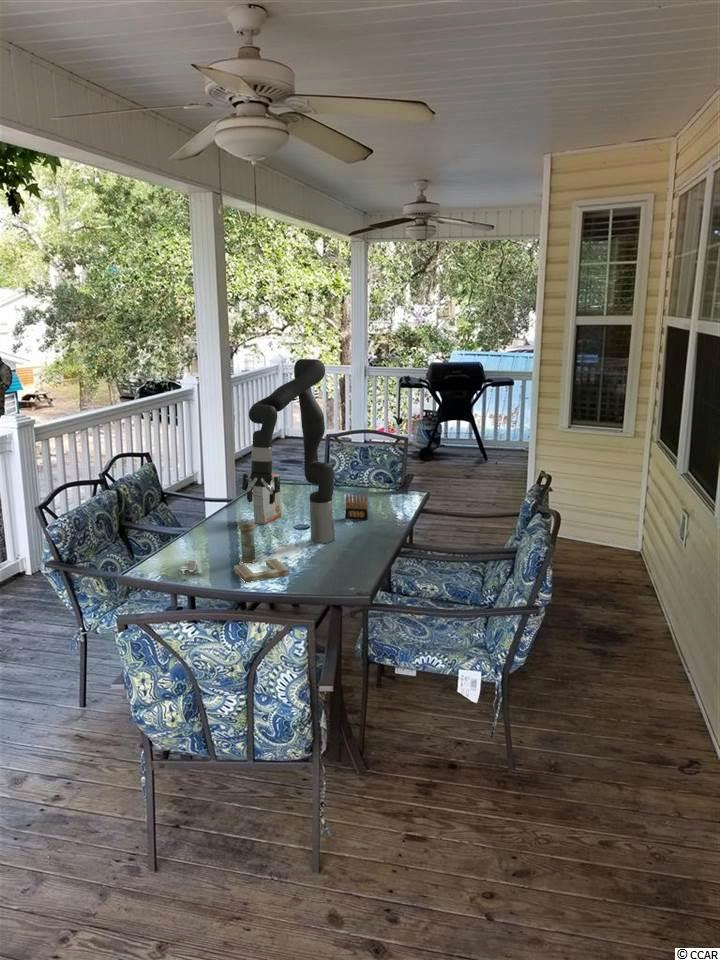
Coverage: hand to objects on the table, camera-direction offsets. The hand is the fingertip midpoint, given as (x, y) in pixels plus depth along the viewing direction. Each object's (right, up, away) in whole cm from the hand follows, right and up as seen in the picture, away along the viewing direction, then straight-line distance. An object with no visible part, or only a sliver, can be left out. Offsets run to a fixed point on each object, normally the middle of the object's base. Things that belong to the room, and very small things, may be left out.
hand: (260, 502), depth 260 cm
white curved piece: (-26, -25, +4) cm, 36 cm away
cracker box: (-6, -10, +65) cm, 66 cm away
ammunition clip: (+35, -10, +65) cm, 75 cm away
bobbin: (-6, -23, +11) cm, 26 cm away
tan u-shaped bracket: (+1, -26, -2) cm, 26 cm away
